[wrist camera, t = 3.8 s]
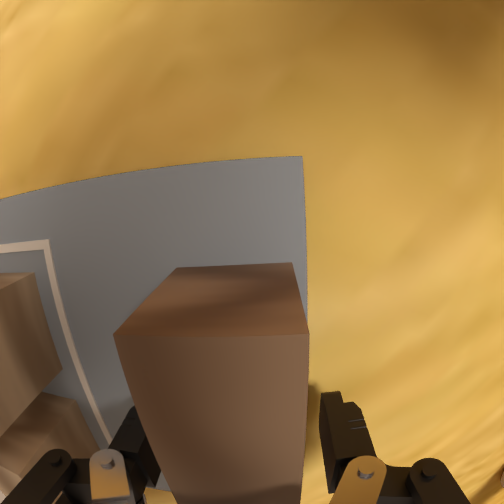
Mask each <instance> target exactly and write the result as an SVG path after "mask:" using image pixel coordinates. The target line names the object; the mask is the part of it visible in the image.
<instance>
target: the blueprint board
mask: <svg viewBox="0 0 504 504" xmlns="http://www.w3.org/2000/svg"><path fill="white" fill-rule="evenodd" d="M285 262H292V264H293V268H294V272H295V276H296V280H297V284H298V288H299V292H300V296H301V300H302V304H303V308H304V313H305V317H306V321H307V248H306V217H305V194H304V175H303V158H302V156H289V157H268V158H252V159H238V160H226V161H214V162H204V163H194V164H185V165H177V166H169V167H161V168H154V169H147V170H140V171H133V172H127V173H120V174H114V175H108V176H103V177H97V178H92V179H86V180H81V181H76V182H71V183H66V184H62V185H57V186H53V187H48V188H44V189H39V190H35V191H31V192H27V193H23V194H19V195H15V196H11V197H7V198H4V199H0V273H22V272H34V273H35V277H36V282H37V286H38V290H39V294H40V298H41V302H42V306H43V309H44V313H45V316H46V320H47V323H48V327H49V330H50V333H51V336H52V339H53V342H54V345H55V348H56V351H57V354H58V357H59V359H60V362H61V365H62V368H63V369H62V370H61V371H60V373H59V374H58V375H57V376H56V377H55V378H54V379H53V380H52V381H51V382H50V383H49V384H48V385H47V386H46V387H45V388H44V389H43V390H42V392H45V393H49V394H53V395H57V396H61V397H65V398H70V399H74V400H76V402H77V404H78V406H79V408H80V410H81V412H82V415H83V417H84V419H85V421H86V423H87V425H88V427H89V429H90V431H91V433H92V435H93V437H94V439H95V441H96V442H97V444H98V446H99V448H100V450H103V449H108V447H109V445H110V444H111V442H112V440H113V438H114V436H115V435H116V433H117V431H118V429H119V427H120V426H121V425H122V422H123V420H124V419H125V417H126V415H127V413H128V411H129V410H130V408H131V407H133V406H134V402H133V399H132V396H131V393H130V390H129V387H128V384H127V381H126V378H125V375H124V372H123V369H122V365H121V362H120V359H119V355H118V352H117V348H116V345H115V341H114V337H113V333H114V332H115V331H116V330H117V329H118V328H119V327H120V326H121V325H122V324H123V323H124V322H125V320H126V319H127V318H128V317H129V316H130V315H131V314H132V313H133V312H134V311H135V310H136V309H137V308H138V307H139V306H140V305H141V304H142V303H143V301H144V300H145V299H146V298H147V297H148V296H149V295H150V294H151V293H152V292H153V291H154V290H155V289H156V288H157V287H158V286H159V285H160V284H161V283H162V282H163V281H164V280H165V279H166V278H167V277H168V276H169V275H170V274H171V273H172V272H173V271H174V270H175V269H176V268H177V267H200V266H222V265H244V264H265V263H285ZM146 487H147V486H146ZM148 488H152V487H148ZM153 489H159V490H165V491H171V490H170V488H169V486H168V484H167V482H166V479H165V477H164V475H163V473H162V471H161V473H160V476H159V479H158V482H157V484H156V487H155V488H153Z"/></svg>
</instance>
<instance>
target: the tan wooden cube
mask: <svg viewBox="0 0 504 504" xmlns="http://www.w3.org/2000/svg"><path fill="white" fill-rule="evenodd" d="M62 369H63V368H62V365H61V362H60V359H59V357H58V354H57V351H56V348H55V345H54V342H53V339H52V336H51V333H50V330H49V327H48V323H47V320H46V316H45V313H44V309H43V306H42V302H41V298H40V294H39V290H38V286H37V282H36V277H35V273H34V272H22V273H0V437H1V436H2V435H3V433H4V432H5V431H6V430H7V429H8V428H9V427H10V426H11V424H12V423H13V422H14V421H15V420H16V419H17V418H18V417H19V415H20V414H21V413H22V412H23V411H24V410H25V409H26V408H27V407H28V406H29V404H30V403H31V402H32V401H33V400H34V399H35V398H36V397H37V396H38V395H39V394H40V393H41V392H42V390H43V389H44V388H45V387H46V386H47V385H48V384H49V383H50V382H51V381H52V380H53V379H54V378H55V377H56V376H57V375H58V374H59V373H60V371H61V370H62Z"/></svg>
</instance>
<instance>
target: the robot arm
mask: <svg viewBox="0 0 504 504" xmlns="http://www.w3.org/2000/svg"><path fill="white" fill-rule="evenodd" d="M319 433H320V439H321V446H322V452H323V459H324V465H325V472H326V479H327V486H328V493H329V494H330V493H334V495H333V497H332V499H331V501H330V503H329V504H470V502H469V501H468V499H467V498H466V496H465V494H464V493H463V491H462V490H461V488H460V487H459V485H458V484H457V482H456V481H455V479H454V478H453V476H452V475H451V473H450V472H449V470H448V469H447V467H446V466H445V464H444V463H443V462H441V461H440V460H438V459H434V458H424V459H421V460H419V461H417V462H416V463H414V464H413V466H412V467H393V466H389V465H386V464H385V463H384V462H383V461H382V460H380V459H379V458H378V457H377V456H376V453H375V450H374V447H373V444H372V441H371V438H370V435H369V432H368V429H367V427H366V423H365V420H364V417H363V414H362V411H361V409H360V408H359V407H358V406H357V405H356V404H355V403H354V402H346V403H343V399H342V396H341V393H340V391H335V392H325V393H321V400H320V413H319ZM160 473H161V469H160V467H159V464H158V462H157V460H156V458H155V455H154V453H153V451H152V448H151V446H150V444H149V441H148V439H147V436H146V434H145V431H144V429H143V426H142V424H141V421H140V418H139V416H138V413H137V410H136V408H135V405H134V406H133V407H131V408H130V410H129V411H128V413H127V415H126V417H125V419H124V420H123V422H122V425H121V426H120V427H119V429H118V431H117V433H116V435H115V436H114V438H113V440H112V442H111V444H110V445H109V447H108V449H103V450H99V451H97V452H96V453H94V454H93V455H92V457H91V458H72V457H71V456H70V454H69V453H68V452H67V451H65V450H63V449H52V450H49V451H48V452H46V453H45V454H44V455H43V456H42V457H41V458H40V460H39V461H38V462H37V463H36V464H35V465H34V466H33V467H32V469H31V470H30V471H29V472H28V473H27V474H26V475H25V476H24V478H23V479H22V480H21V481H20V482H19V483H18V484H17V486H16V487H15V488H14V489H13V490H12V491H11V492H10V493H9V495H8V496H7V497H6V498H5V499H4V500H3V502H2V503H1V504H52V503H53V502H54V500H55V499H56V498H57V496H58V495H59V494H60V493H61V491H62V494H61V496H60V497H59V498H58V500H57V501H56V502H55V504H147V501H146V498H145V495H144V490H145V487H146V486H147V487H152V488H155V487H156V484H157V482H158V479H159V476H160Z"/></svg>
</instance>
